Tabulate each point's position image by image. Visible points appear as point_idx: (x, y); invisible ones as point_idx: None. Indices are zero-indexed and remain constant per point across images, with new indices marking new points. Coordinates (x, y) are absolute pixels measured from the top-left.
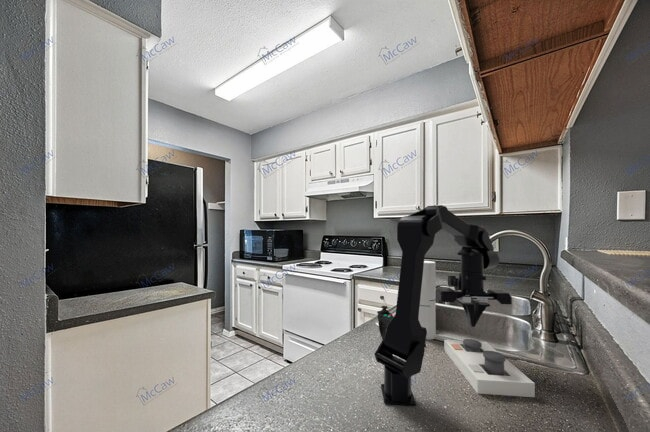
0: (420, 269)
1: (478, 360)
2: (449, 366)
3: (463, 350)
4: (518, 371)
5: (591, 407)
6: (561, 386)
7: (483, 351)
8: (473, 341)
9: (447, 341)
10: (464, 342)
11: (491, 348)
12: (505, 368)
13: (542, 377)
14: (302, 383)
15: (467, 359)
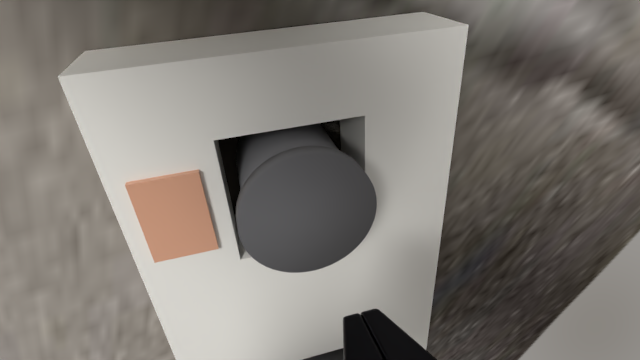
0: None
1: (278, 338)
2: (123, 284)
3: (220, 252)
4: None
5: (514, 344)
6: (532, 272)
7: None
8: (326, 201)
9: (96, 113)
10: (241, 242)
11: (437, 154)
12: None
13: (519, 234)
14: None
15: (219, 349)
